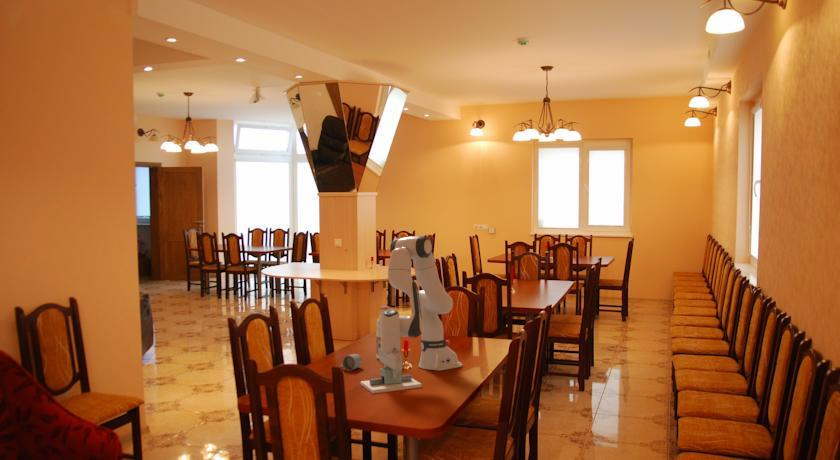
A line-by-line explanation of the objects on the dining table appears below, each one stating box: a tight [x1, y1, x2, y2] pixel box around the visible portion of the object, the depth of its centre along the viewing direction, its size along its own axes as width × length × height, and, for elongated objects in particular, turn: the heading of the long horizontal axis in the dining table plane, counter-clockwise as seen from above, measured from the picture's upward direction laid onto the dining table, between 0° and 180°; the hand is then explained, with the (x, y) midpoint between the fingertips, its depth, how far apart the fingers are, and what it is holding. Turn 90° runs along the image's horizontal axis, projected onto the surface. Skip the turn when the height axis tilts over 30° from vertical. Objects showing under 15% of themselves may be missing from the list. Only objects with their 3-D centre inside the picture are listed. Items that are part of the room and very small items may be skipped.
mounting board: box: [359, 378, 423, 394], centre depth 314 cm, size 24×16×2 cm, turn 115°
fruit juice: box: [375, 305, 390, 360], centre depth 368 cm, size 9×9×28 cm
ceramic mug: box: [340, 353, 363, 372], centre depth 346 cm, size 11×8×8 cm
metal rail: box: [369, 373, 413, 386], centre depth 314 cm, size 20×2×2 cm, turn 115°
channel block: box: [379, 367, 403, 384], centre depth 314 cm, size 8×6×6 cm
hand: (390, 376), depth 314 cm, fingers closed on channel block, 6 cm apart
